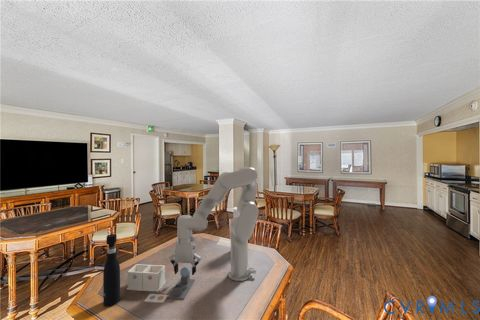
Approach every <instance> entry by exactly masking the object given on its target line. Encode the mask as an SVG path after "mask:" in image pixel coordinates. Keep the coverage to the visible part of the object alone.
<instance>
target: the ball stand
mask: <svg viewBox="0 0 480 320" xmlns="http://www.w3.org/2000/svg"><path fill="white" fill-rule="evenodd" d="M190 274H191V273H190ZM190 274H189V276H188V277H182V276H181V277H180V279H178V281H177V283H176V284H175V285H174V286H173V288H172V289H171V291H170V293H169V294H167V295H168V297H167V298H166V299H169V300H185V298H186V297H187V296H188V293H189V292H190V289H192V287H193V285H194V283H195V281H196V279H194V278H193V279H191V277H190V276H191V275H190Z"/></svg>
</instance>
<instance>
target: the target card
mask: <svg viewBox="0 0 480 320" xmlns="http://www.w3.org/2000/svg"><path fill="white" fill-rule="evenodd" d="M168 295H169V294H160V293H158V294H157V293H149V294H148V295H147V297H146V298H145V299H144V301H143V302H144V303H145V302H147V303H158V304H159V303H161V304H163V303H164V302H165V301H166V299H167V297H168Z"/></svg>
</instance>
